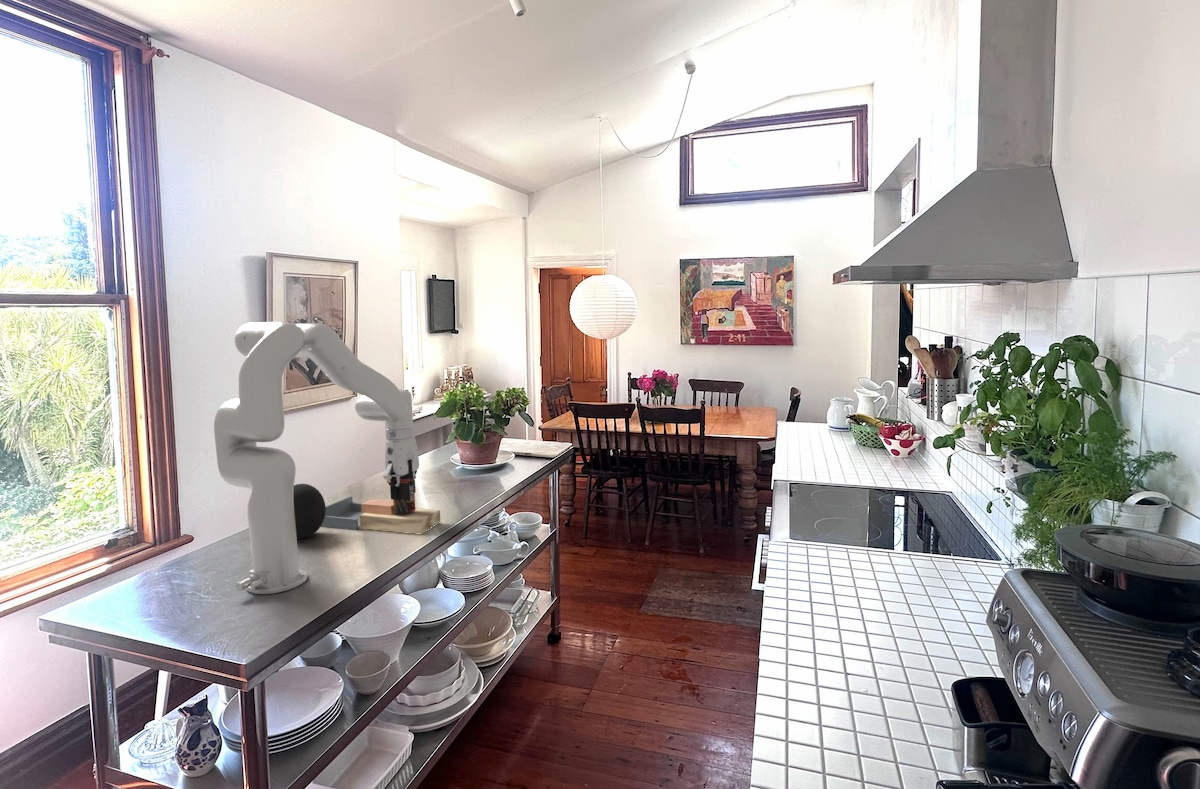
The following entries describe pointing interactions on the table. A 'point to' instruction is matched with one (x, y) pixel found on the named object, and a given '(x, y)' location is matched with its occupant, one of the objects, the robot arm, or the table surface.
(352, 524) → the tray
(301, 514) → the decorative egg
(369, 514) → the board
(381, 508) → the tile
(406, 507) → the deodorant
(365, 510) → the tile
